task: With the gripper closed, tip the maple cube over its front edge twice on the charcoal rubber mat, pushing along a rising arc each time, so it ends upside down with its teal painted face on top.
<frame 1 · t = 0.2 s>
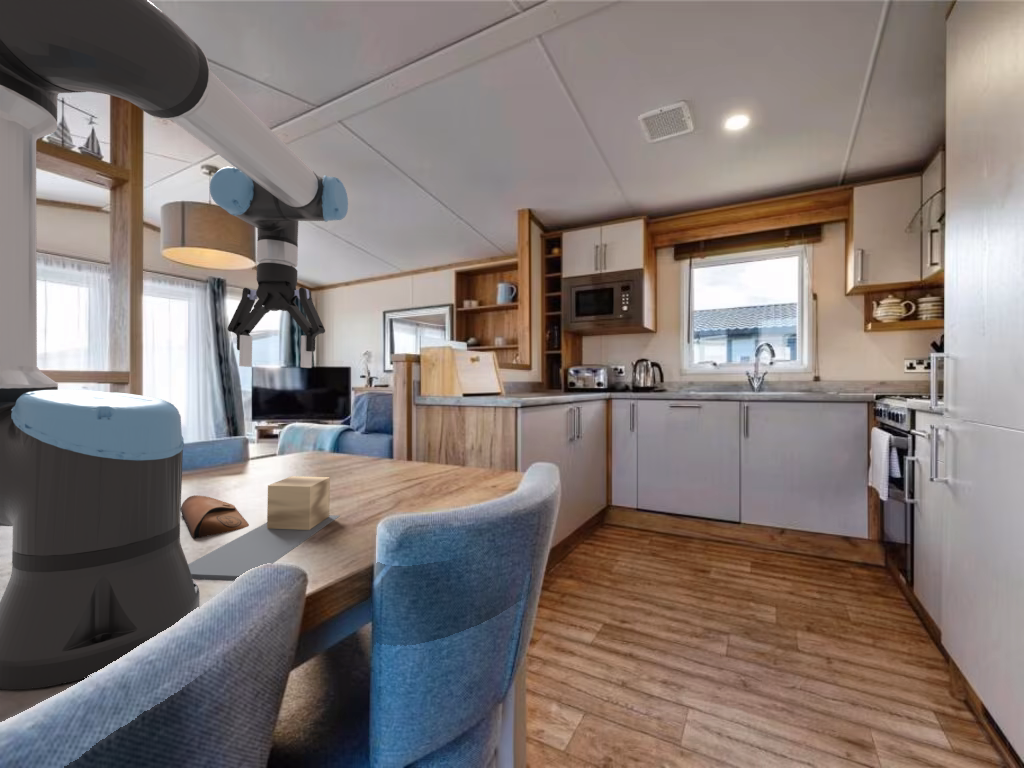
hand: (275, 367, 91), 27 cm above the table, fingers open, 13 cm apart
maple cube: (299, 522, 73), point 1 cm above the table, touching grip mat
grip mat: (270, 543, 66), on the table
sunglasses case: (215, 526, 75), on the table
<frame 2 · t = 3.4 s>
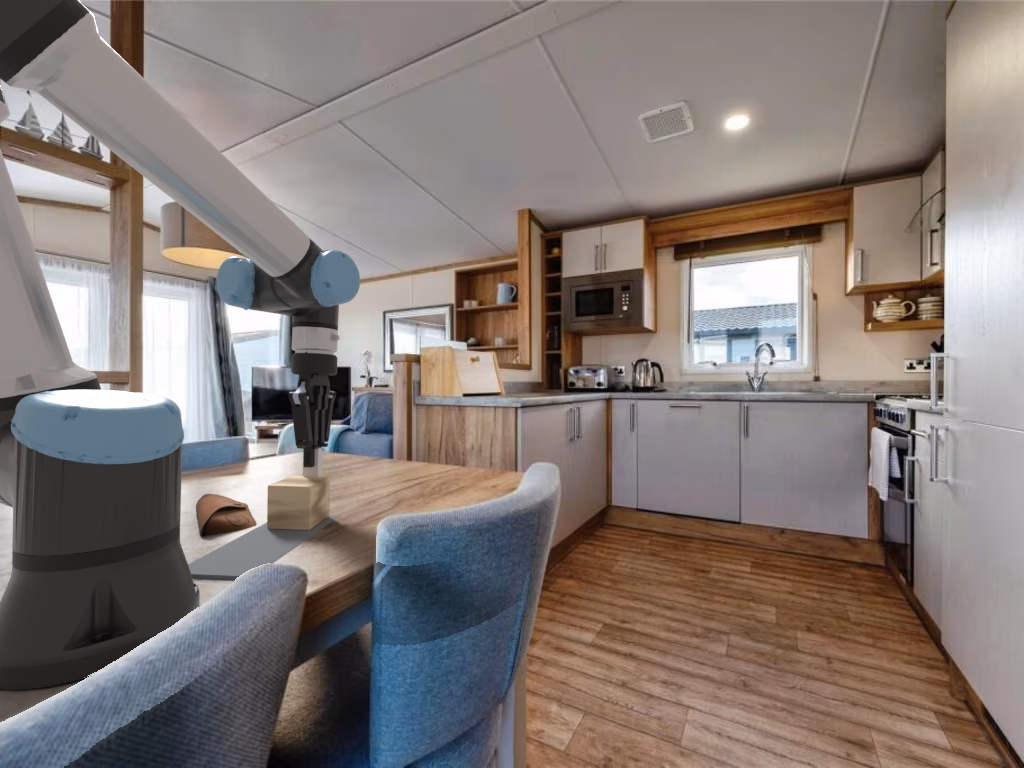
hand: (312, 484, 78), 6 cm above the table, fingers closed
maple cube: (299, 522, 73), point 1 cm above the table, touching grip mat, gripper
sunglasses case: (226, 524, 76), on the table
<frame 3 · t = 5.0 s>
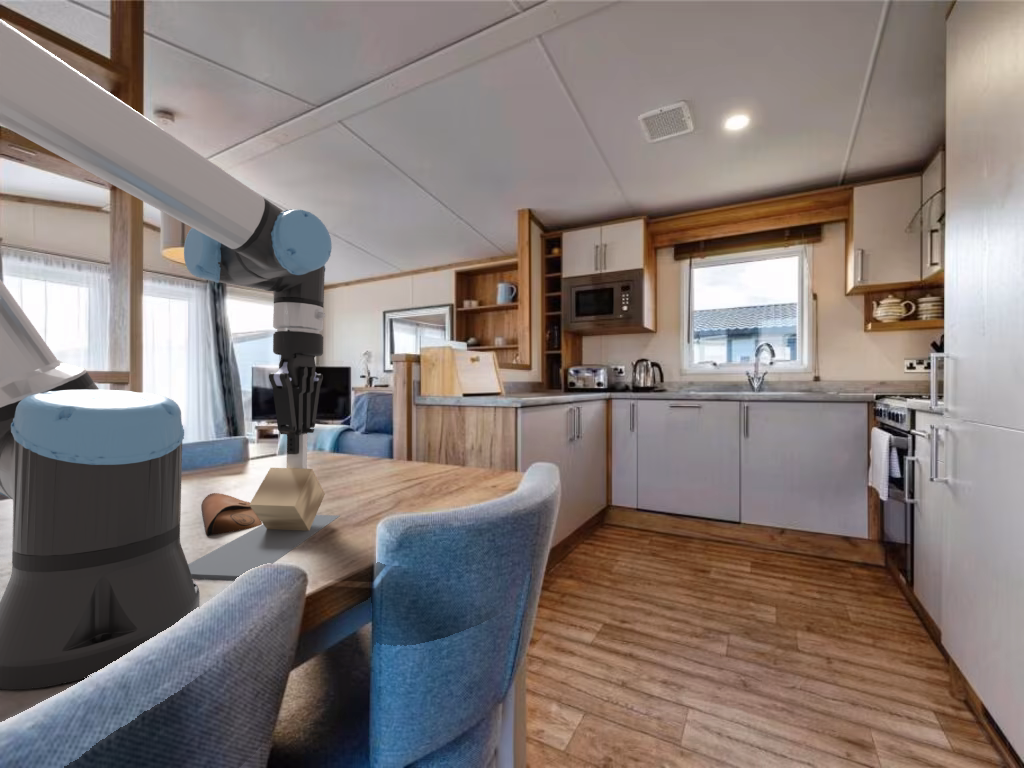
hand: (296, 472, 72), 9 cm above the table, fingers closed
maple cube: (297, 511, 73), point 3 cm above the table, tilted 41°, touching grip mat, gripper
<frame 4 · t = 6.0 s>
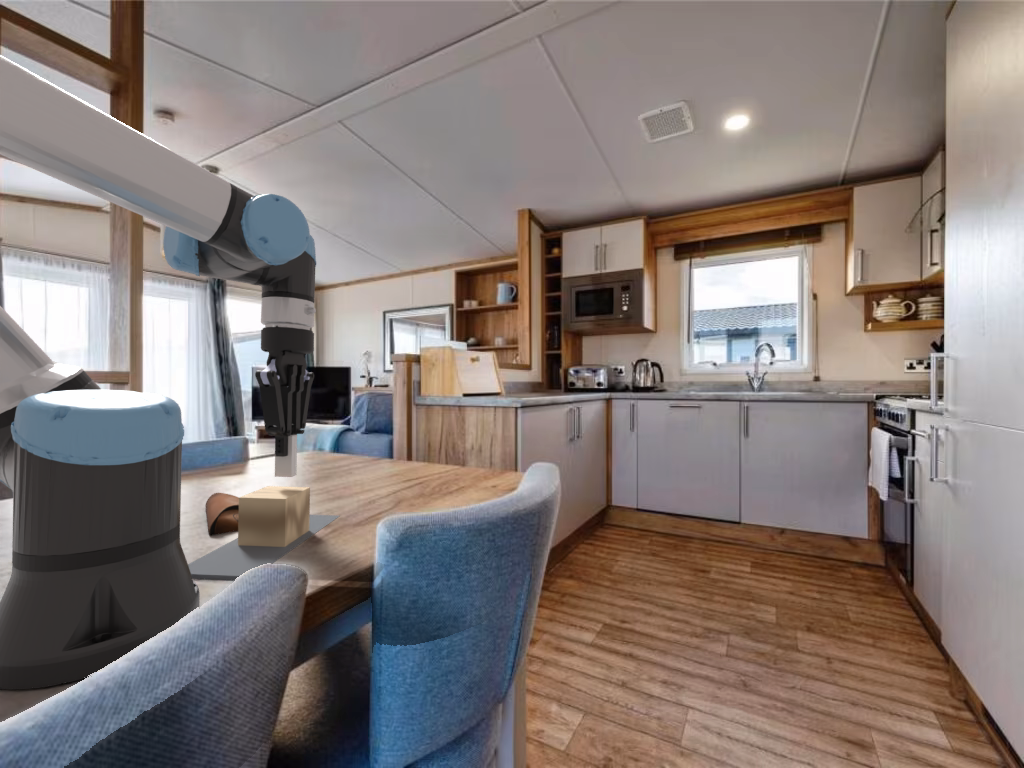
hand: (285, 475, 69), 10 cm above the table, fingers closed
maple cube: (288, 508, 70), point 4 cm above the table, tilted 90°, touching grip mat
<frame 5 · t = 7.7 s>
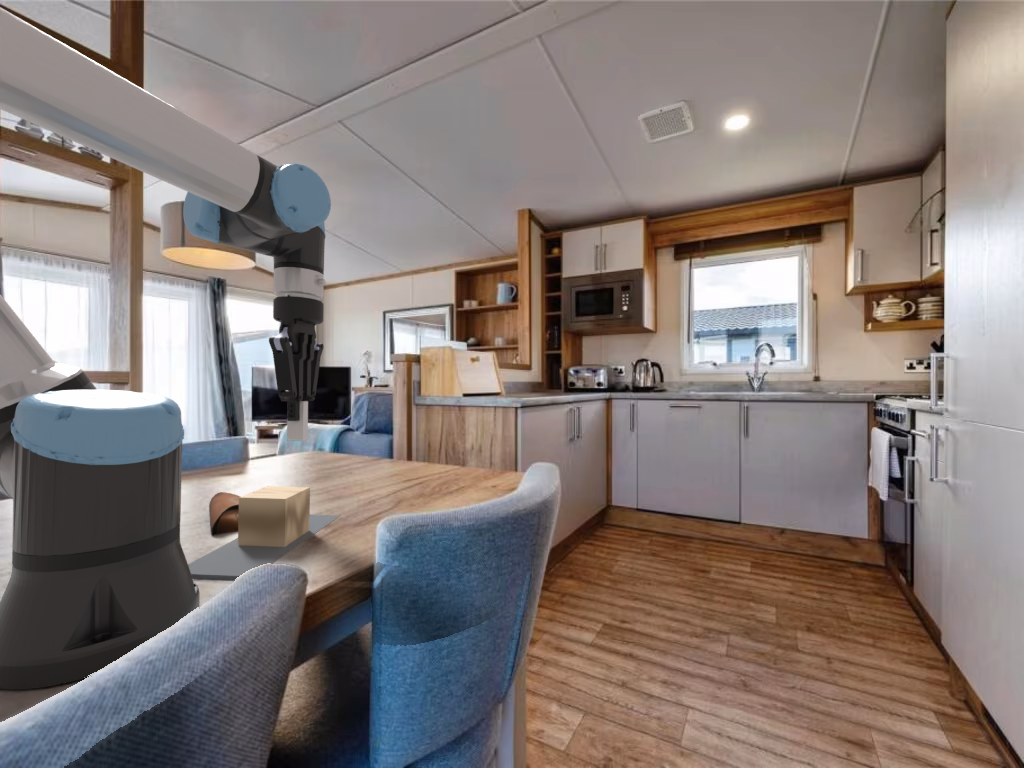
hand: (297, 440, 72), 15 cm above the table, fingers closed
sunglasses case: (238, 523, 77), on the table, touching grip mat
everything else where it was.
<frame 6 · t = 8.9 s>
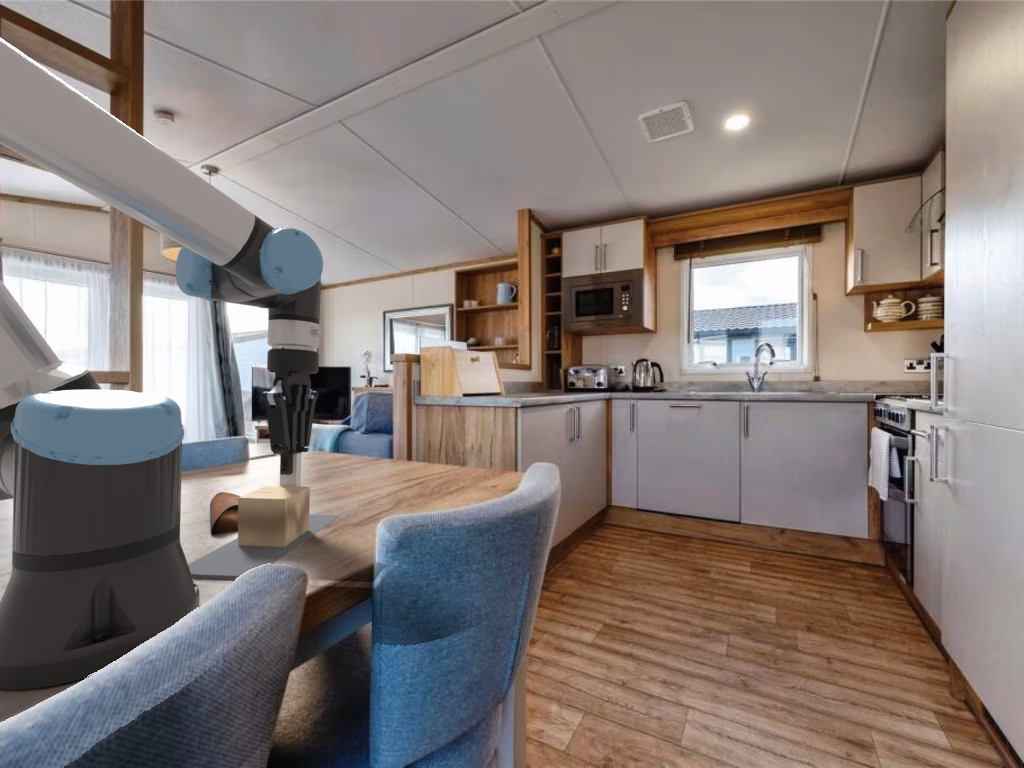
hand: (290, 492, 71), 6 cm above the table, fingers closed
maple cube: (288, 507, 70), point 4 cm above the table, tilted 91°, touching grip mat, gripper
sunglasses case: (238, 523, 77), on the table
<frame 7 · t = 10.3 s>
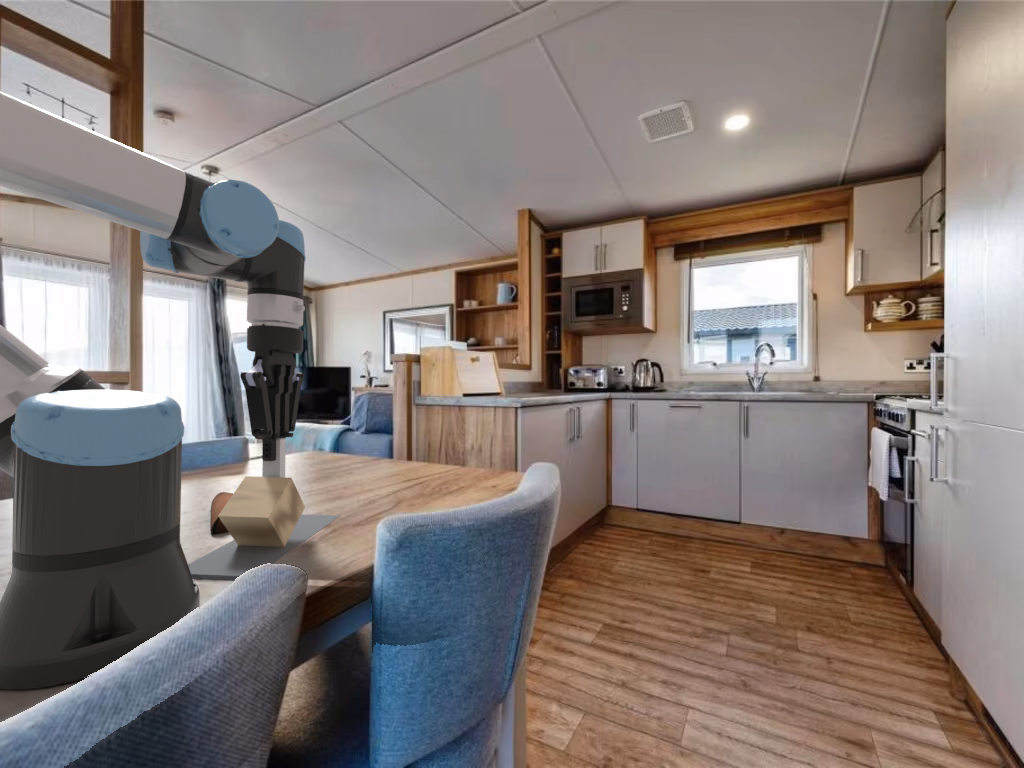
hand: (273, 480, 66), 9 cm above the table, fingers closed
maple cube: (276, 491, 67), point 8 cm above the table, tilted 127°, touching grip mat, gripper
everything else where it was.
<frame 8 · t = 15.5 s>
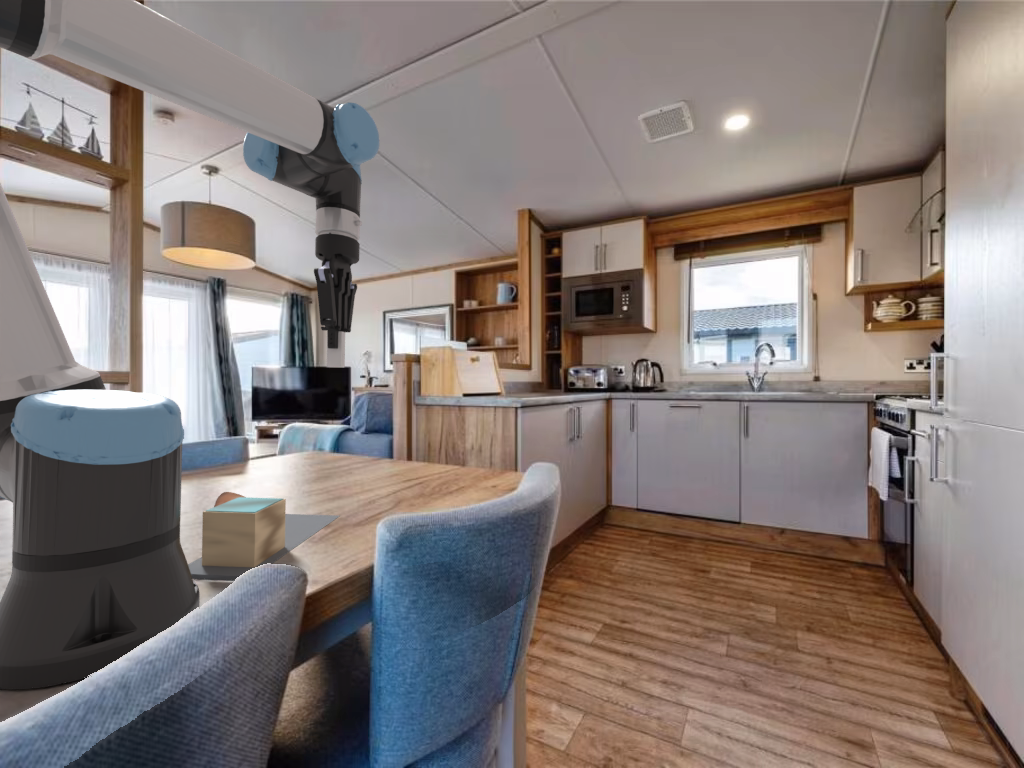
hand: (335, 367, 79), 27 cm above the table, fingers closed
maple cube: (246, 504, 59), point 8 cm above the table, tilted 180°, touching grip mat
sunglasses case: (240, 523, 77), on the table, touching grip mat
at the end: maple cube tilted 180°; maple cube inside the target area (0.0 cm from its centre), point 7.7 cm above the table; the gripper is holding nothing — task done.
